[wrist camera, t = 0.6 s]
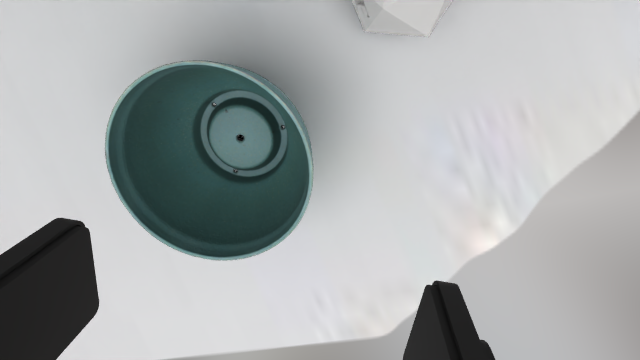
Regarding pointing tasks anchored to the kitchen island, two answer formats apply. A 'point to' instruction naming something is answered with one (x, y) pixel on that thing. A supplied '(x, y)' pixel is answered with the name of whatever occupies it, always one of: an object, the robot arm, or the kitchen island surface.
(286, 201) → the flower pot
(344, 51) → the kitchen island surface
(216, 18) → the kitchen island surface
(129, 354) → the kitchen island surface
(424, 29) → the die
